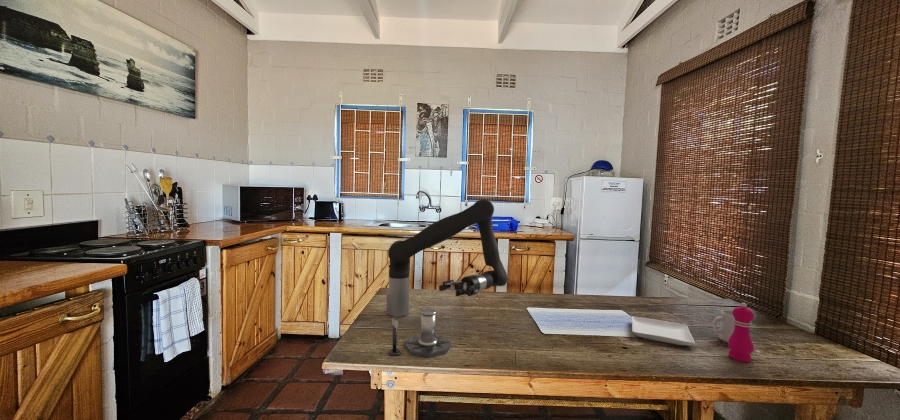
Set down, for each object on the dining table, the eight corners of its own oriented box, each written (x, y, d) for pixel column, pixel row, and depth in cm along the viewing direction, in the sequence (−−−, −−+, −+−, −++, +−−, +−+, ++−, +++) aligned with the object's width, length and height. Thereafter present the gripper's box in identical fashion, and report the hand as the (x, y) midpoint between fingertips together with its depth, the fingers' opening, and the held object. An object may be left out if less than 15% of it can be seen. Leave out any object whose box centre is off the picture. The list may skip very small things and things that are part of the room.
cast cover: (415, 345, 131) (416, 312, 130) (422, 337, 137) (422, 306, 137) (433, 347, 129) (434, 315, 128) (439, 340, 135) (440, 309, 135)
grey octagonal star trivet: (398, 352, 128) (398, 348, 128) (415, 335, 143) (415, 331, 143) (441, 359, 123) (442, 355, 123) (454, 341, 139) (454, 337, 138)
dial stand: (390, 357, 124) (391, 322, 123) (386, 352, 128) (387, 318, 127) (412, 352, 128) (413, 318, 127) (408, 348, 132) (408, 314, 131)
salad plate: (686, 331, 155) (686, 323, 155) (695, 351, 136) (695, 342, 135) (630, 322, 164) (630, 314, 164) (631, 339, 145) (632, 331, 144)
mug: (735, 336, 150) (737, 310, 149) (751, 345, 141) (753, 317, 141) (705, 335, 150) (707, 309, 150) (719, 344, 142) (721, 316, 141)
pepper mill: (721, 353, 134) (725, 299, 132) (740, 353, 134) (744, 299, 133) (739, 362, 126) (743, 306, 125) (758, 362, 127) (762, 306, 126)
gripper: (460, 271, 157) (435, 277, 145) (488, 278, 148) (462, 285, 135) (459, 289, 157) (433, 296, 145) (486, 297, 148) (461, 305, 136)
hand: (447, 290), depth 140 cm, fingers open, 8 cm apart
